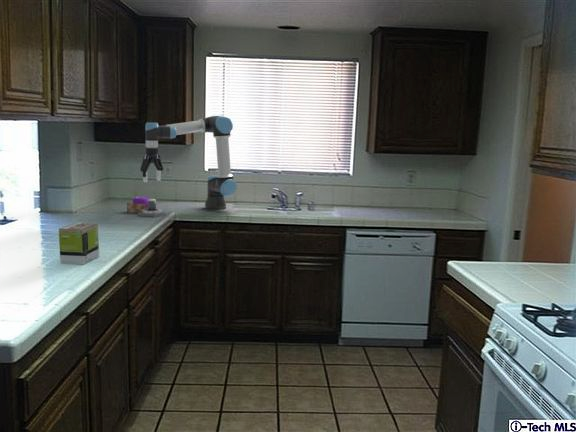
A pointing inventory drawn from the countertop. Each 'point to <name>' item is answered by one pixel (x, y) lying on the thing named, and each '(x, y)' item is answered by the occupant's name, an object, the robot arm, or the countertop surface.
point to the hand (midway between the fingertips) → (152, 181)
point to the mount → (151, 213)
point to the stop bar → (135, 207)
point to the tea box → (78, 243)
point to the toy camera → (141, 201)
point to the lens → (151, 204)
